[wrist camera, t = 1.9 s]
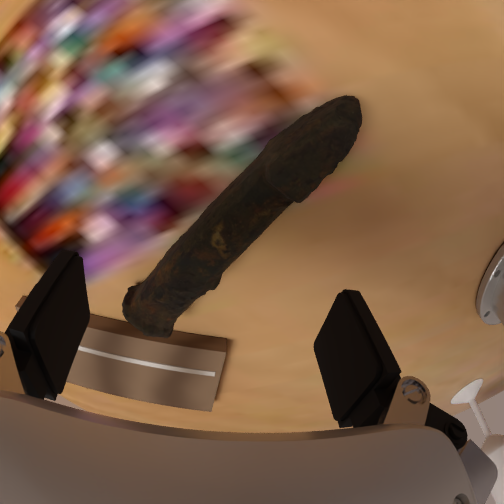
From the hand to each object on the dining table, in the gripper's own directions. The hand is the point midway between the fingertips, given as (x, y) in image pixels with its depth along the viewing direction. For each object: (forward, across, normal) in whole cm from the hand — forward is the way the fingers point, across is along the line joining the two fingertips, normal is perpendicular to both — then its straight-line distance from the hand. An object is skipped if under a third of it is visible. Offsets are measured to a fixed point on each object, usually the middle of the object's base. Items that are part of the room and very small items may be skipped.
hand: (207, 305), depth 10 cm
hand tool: (+9, -1, 0) cm, 9 cm away
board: (+9, +7, +16) cm, 20 cm away
